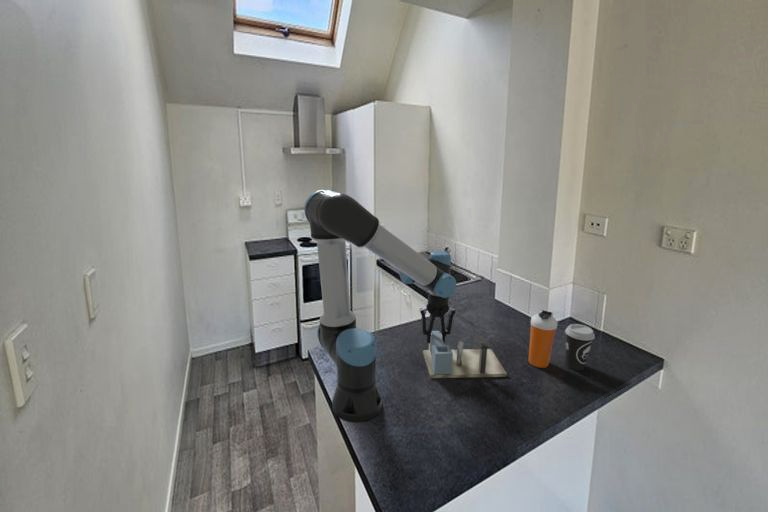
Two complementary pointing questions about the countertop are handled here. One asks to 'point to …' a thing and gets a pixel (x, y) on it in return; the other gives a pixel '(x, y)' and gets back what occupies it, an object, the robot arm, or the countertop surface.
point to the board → (468, 365)
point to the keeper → (482, 352)
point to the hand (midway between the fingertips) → (435, 350)
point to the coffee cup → (577, 345)
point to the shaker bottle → (541, 338)
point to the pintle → (459, 353)
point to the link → (440, 355)
